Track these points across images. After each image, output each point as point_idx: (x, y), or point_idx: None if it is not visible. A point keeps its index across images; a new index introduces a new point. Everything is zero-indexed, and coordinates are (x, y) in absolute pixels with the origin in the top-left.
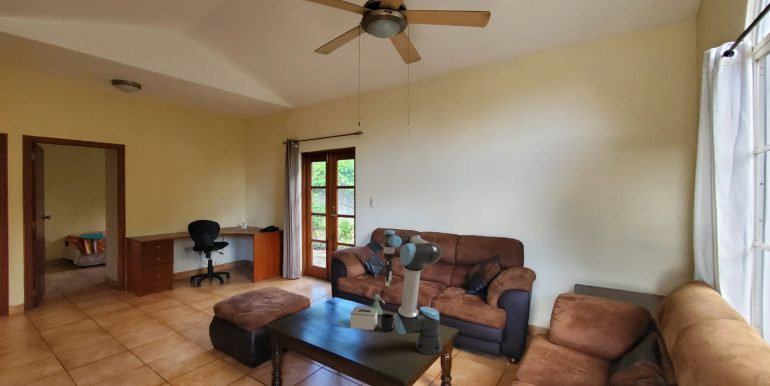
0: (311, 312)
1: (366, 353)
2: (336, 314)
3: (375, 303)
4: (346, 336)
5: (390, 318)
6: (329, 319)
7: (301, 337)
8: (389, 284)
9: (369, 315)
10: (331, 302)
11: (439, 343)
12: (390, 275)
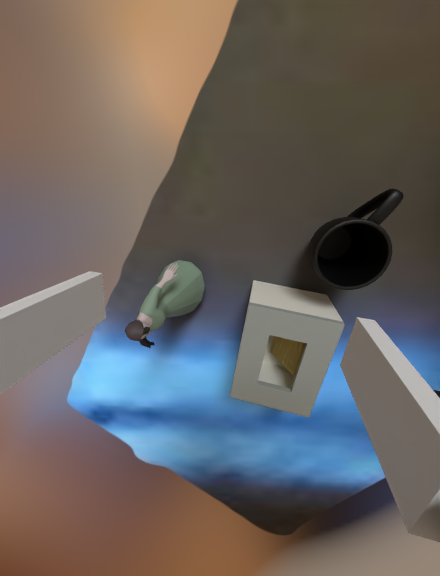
0: (183, 463)
1: None
2: (189, 406)
3: (173, 309)
4: None
5: (389, 237)
6: (230, 425)
7: (359, 488)
8: (369, 329)
9: (335, 344)
10: (97, 416)
11: None
12: (43, 315)
